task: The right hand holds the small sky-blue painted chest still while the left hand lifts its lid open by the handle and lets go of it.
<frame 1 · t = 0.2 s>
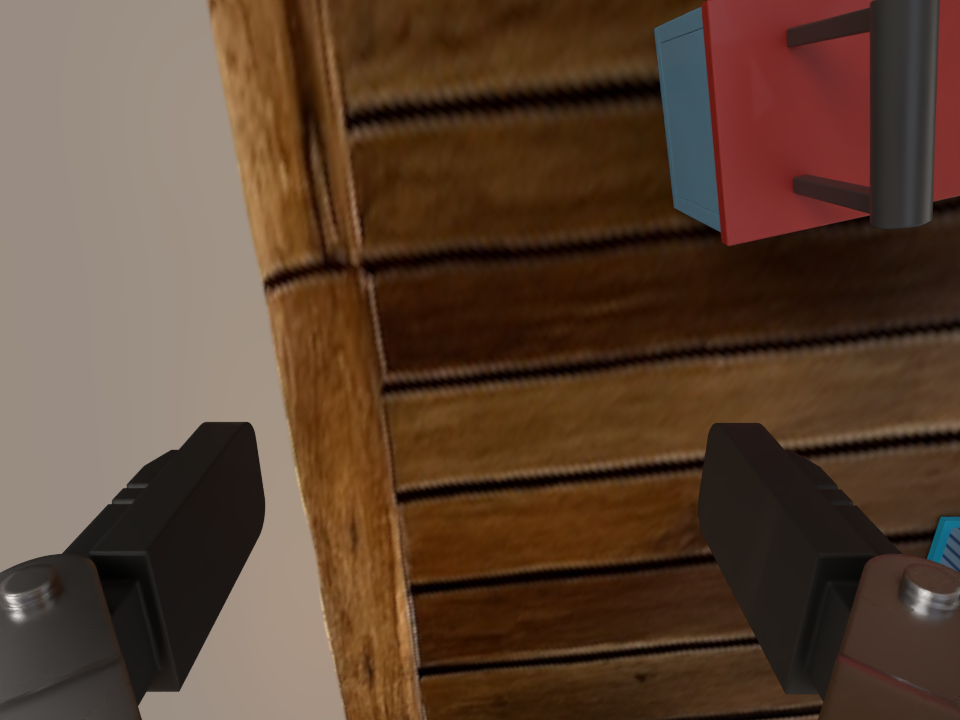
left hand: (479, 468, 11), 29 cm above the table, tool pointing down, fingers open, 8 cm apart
chest: (804, 89, 36), on the table
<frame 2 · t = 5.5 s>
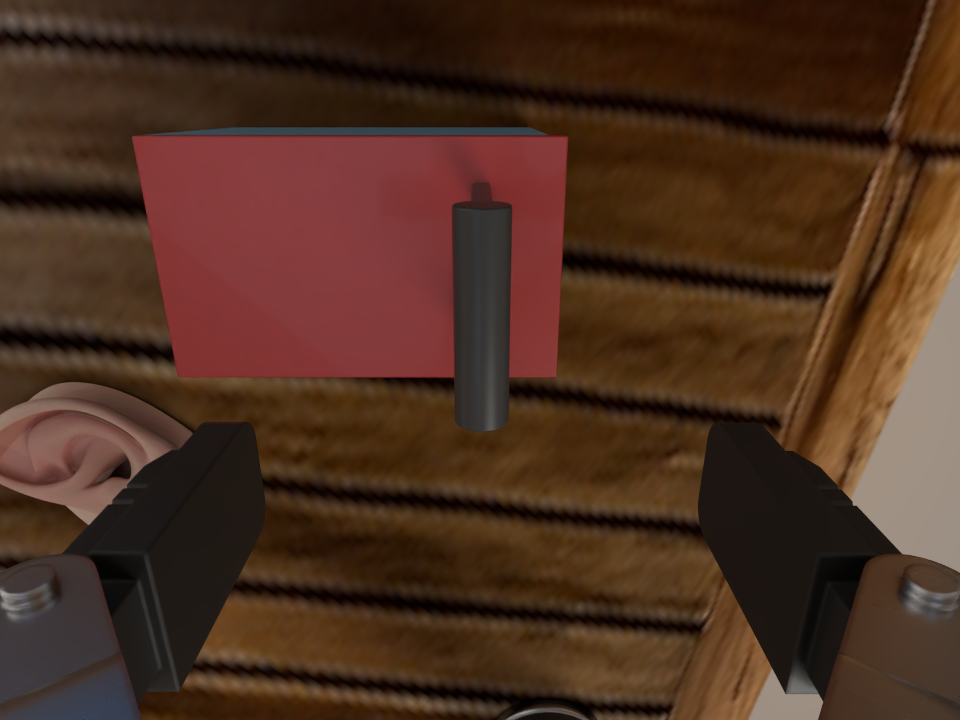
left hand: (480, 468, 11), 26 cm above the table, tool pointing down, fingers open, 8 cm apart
anatomical model: (126, 464, 41), on the table
lid: (341, 288, 22), point 14 cm above the table, hinge at 0.0°
chest: (387, 221, 36), on the table
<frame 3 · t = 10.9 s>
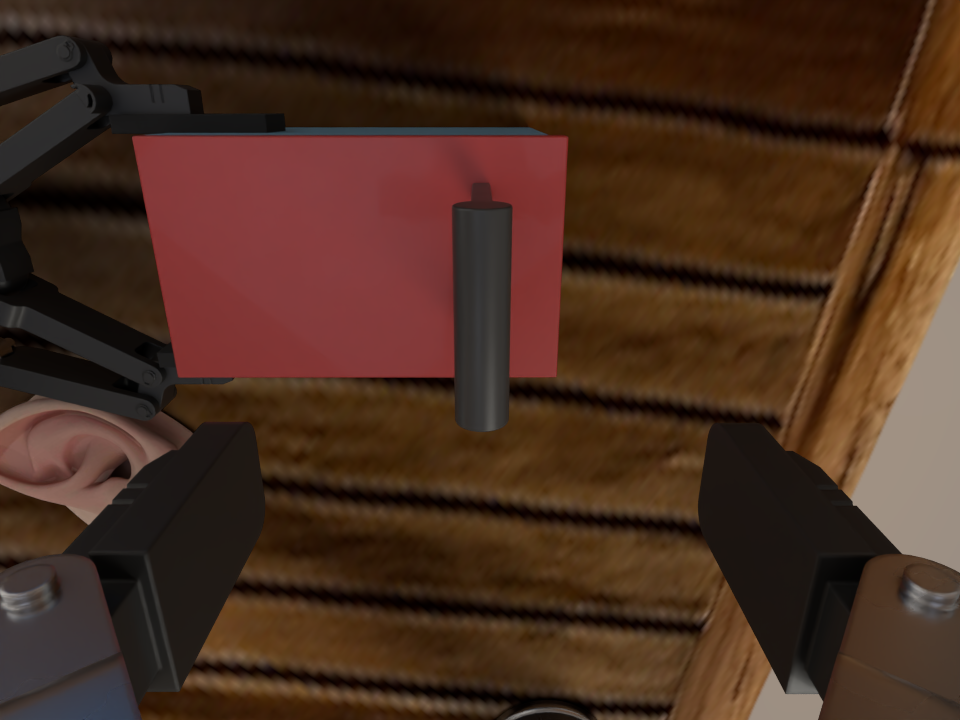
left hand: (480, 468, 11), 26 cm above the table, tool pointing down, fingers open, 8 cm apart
right hand: (289, 244, 30), fingers closed on chest, 10 cm apart
anatomical model: (126, 464, 41), on the table
lid: (341, 288, 22), point 14 cm above the table, hinge at 0.0°
chest: (387, 221, 36), on the table, touching right hand
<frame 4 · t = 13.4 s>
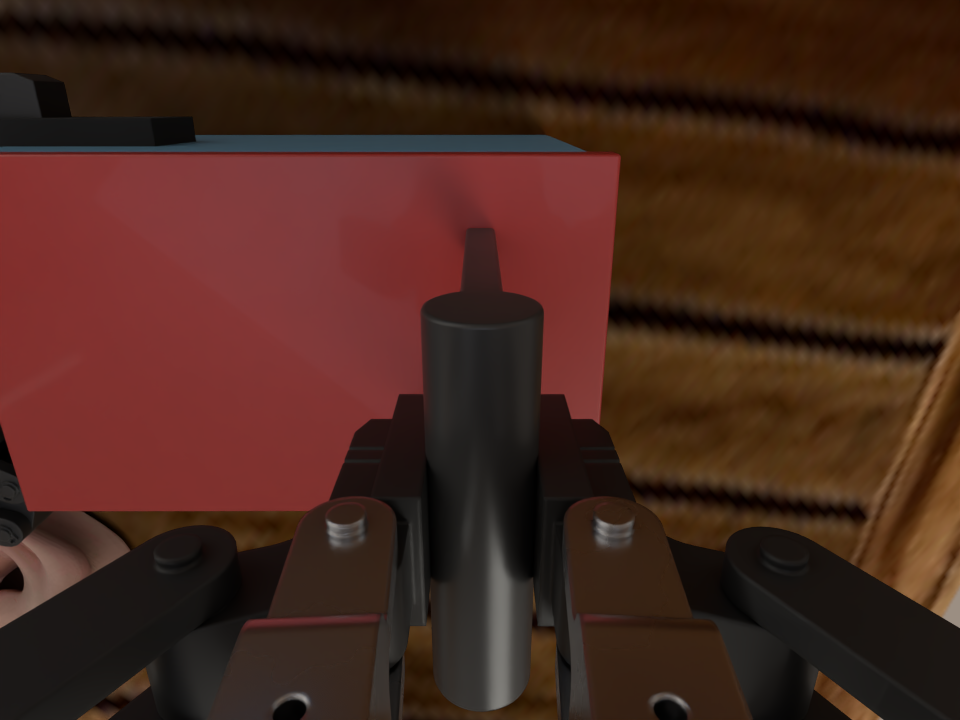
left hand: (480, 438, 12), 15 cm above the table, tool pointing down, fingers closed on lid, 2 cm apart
anatomical model: (25, 564, 32), on the table
lid: (245, 413, 13), point 14 cm above the table, hinge at 0.0°, touching left hand
chest: (354, 260, 27), on the table, touching right hand
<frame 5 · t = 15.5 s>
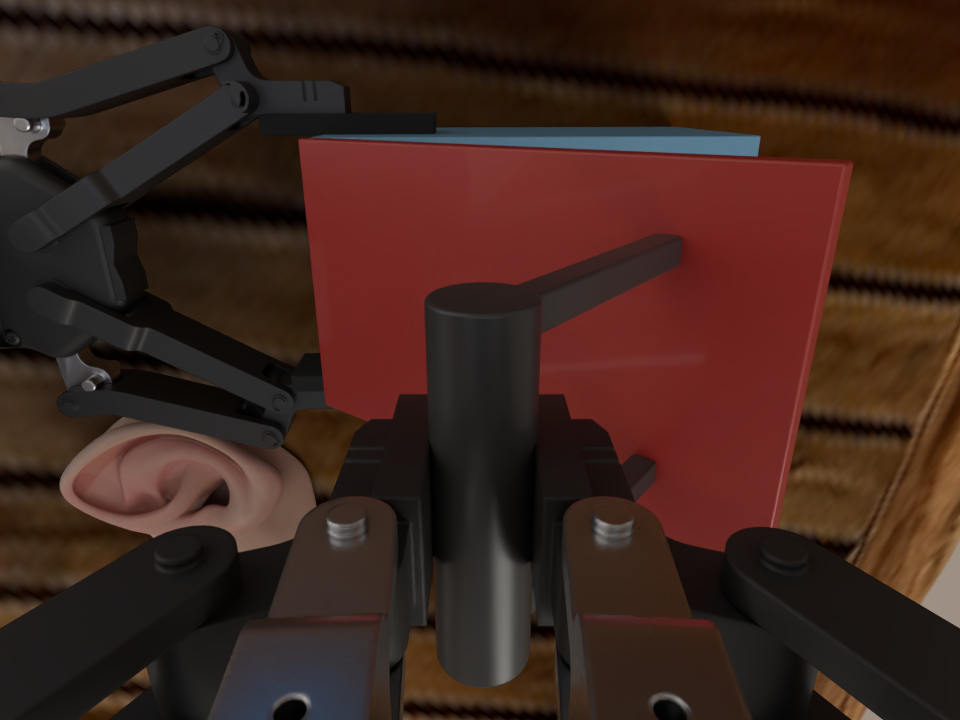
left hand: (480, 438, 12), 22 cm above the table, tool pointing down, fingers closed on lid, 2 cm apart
right hand: (438, 255, 27), fingers closed on chest, 10 cm apart
anatomical model: (216, 488, 39), on the table
lid: (410, 363, 16), point 19 cm above the table, hinge at 39.2°, touching left hand
chest: (513, 228, 33), on the table, touching right hand
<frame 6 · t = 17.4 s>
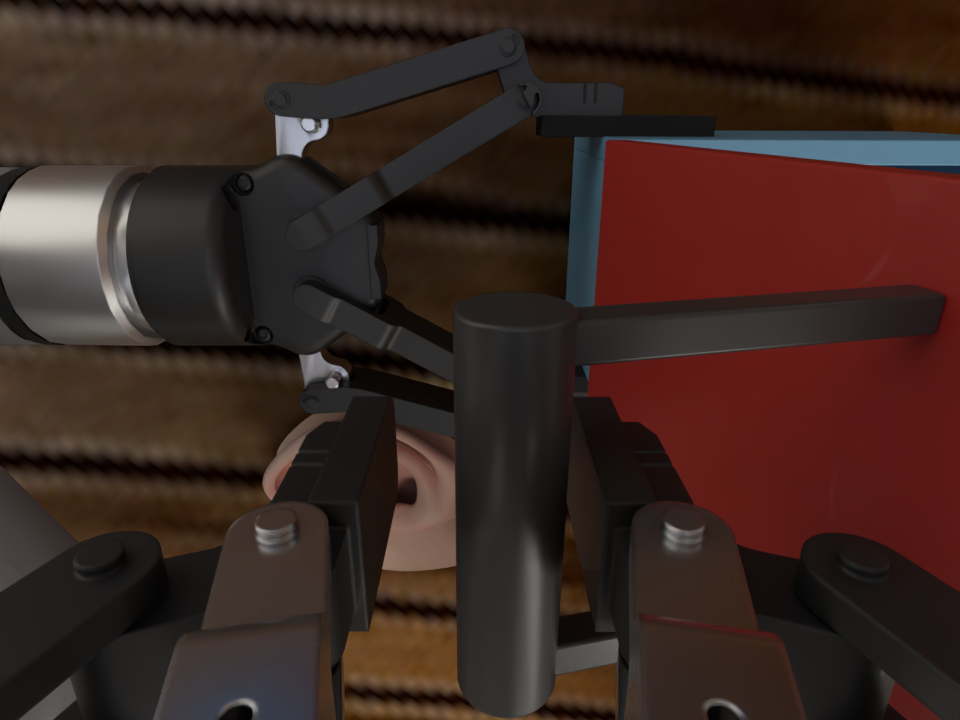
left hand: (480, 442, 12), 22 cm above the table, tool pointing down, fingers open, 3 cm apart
right hand: (687, 258, 27), fingers closed on chest, 10 cm apart
anatomical model: (393, 487, 39), on the table
lid: (593, 375, 15), point 19 cm above the table, hinge at 76.5°
chest: (721, 231, 33), on the table, touching right hand
when the right hand's fingers open (6 cm above the table, at t = 21.3 s): chest stays where it is, on the table.
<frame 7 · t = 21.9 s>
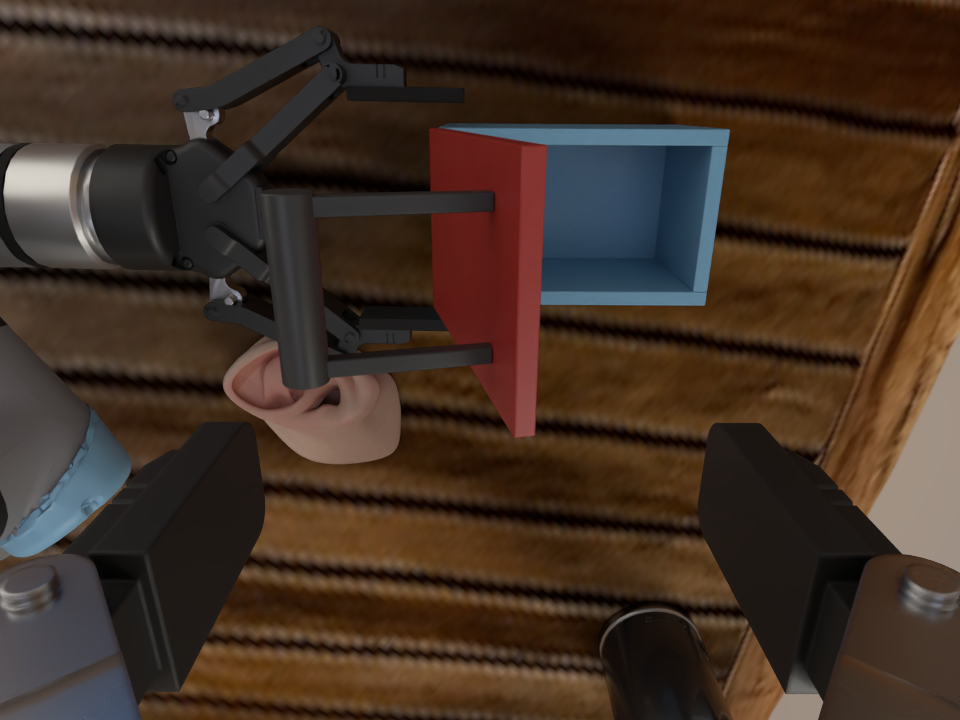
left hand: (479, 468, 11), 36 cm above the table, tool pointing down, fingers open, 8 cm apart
right hand: (463, 214, 39), fingers open, 13 cm apart
anatomical model: (326, 396, 51), on the table
lid: (383, 256, 27), point 19 cm above the table, hinge at 76.0°
chest: (558, 198, 45), on the table
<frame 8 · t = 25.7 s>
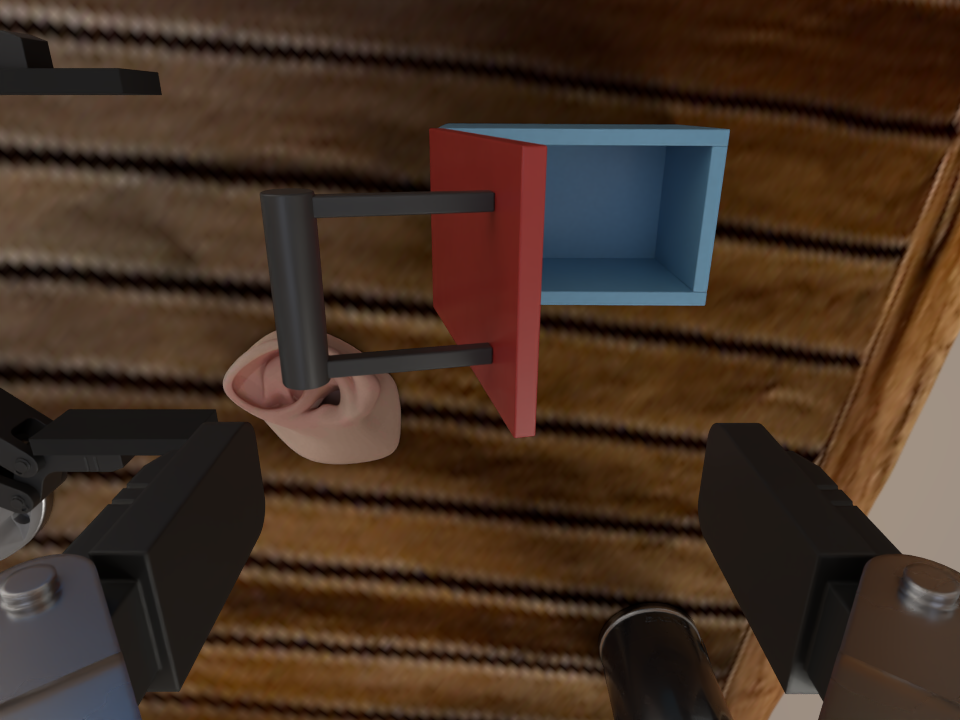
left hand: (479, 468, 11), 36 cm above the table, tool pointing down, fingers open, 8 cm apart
anatomical model: (326, 396, 51), on the table
lid: (383, 256, 27), point 19 cm above the table, hinge at 76.0°
chest: (558, 198, 45), on the table
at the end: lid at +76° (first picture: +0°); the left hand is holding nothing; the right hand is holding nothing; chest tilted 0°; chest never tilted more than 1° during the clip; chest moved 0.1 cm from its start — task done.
